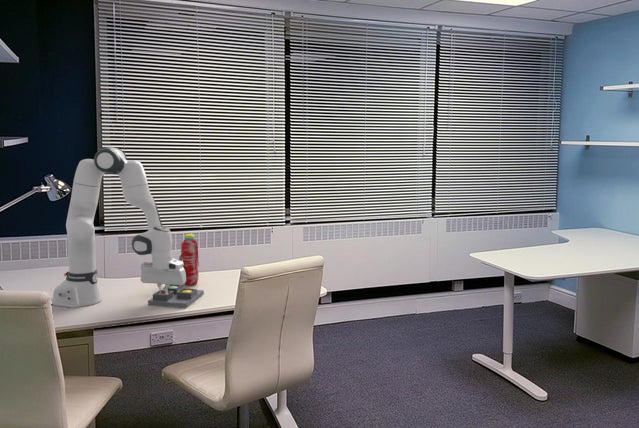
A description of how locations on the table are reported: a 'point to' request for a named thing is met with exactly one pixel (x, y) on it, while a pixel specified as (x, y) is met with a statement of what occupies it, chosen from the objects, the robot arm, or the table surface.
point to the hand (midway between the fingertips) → (163, 293)
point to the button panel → (176, 297)
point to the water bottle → (190, 259)
